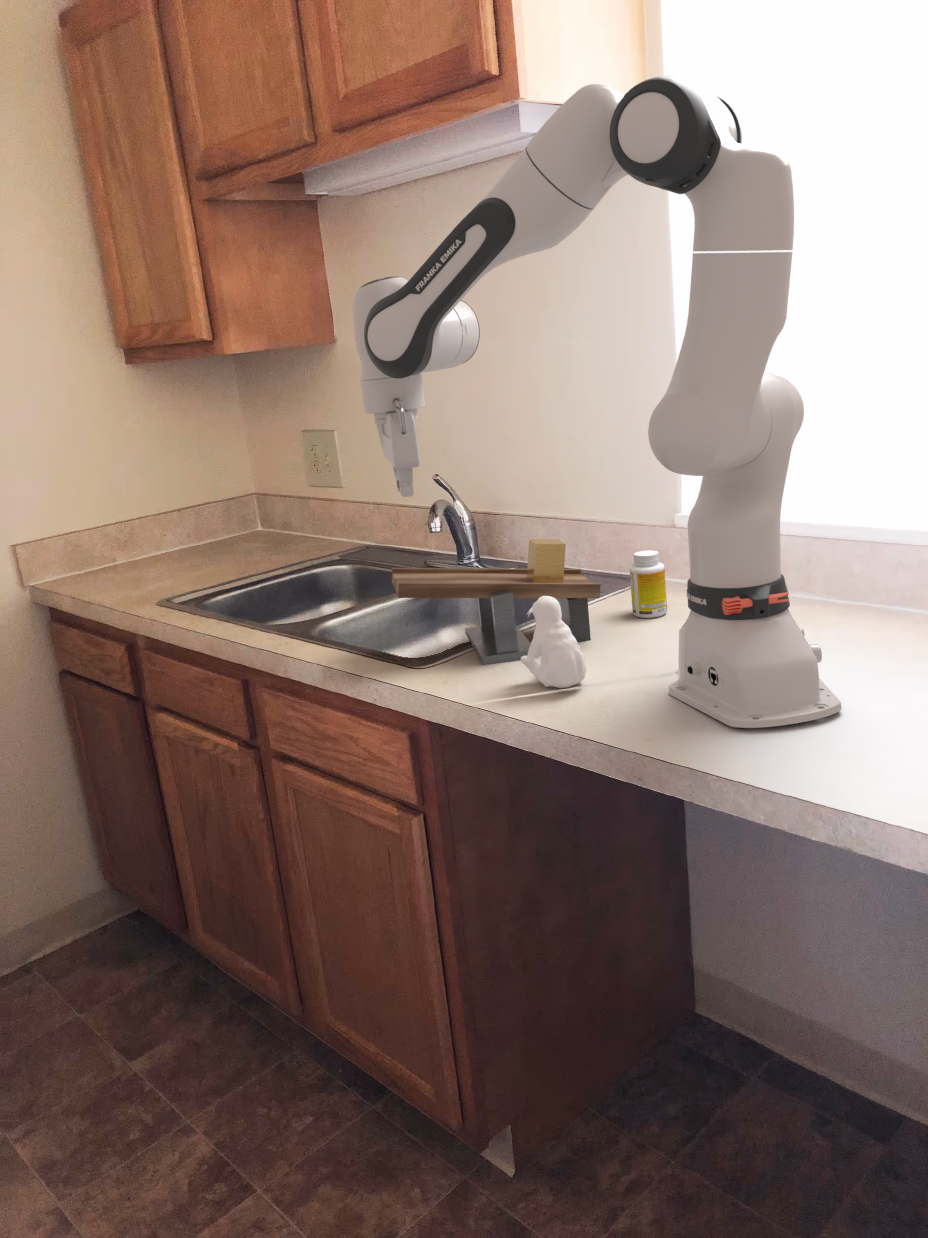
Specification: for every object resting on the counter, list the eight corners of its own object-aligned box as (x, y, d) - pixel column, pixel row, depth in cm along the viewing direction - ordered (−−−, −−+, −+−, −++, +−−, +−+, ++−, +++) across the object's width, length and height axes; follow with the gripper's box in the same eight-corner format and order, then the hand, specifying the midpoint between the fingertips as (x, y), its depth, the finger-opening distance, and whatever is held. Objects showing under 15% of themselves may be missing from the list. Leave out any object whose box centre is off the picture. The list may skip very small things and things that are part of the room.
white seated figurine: (562, 696, 130) (554, 607, 127) (520, 683, 137) (511, 598, 134) (597, 683, 134) (590, 596, 131) (555, 671, 140) (547, 588, 137)
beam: (599, 604, 150) (600, 584, 149) (398, 604, 145) (398, 583, 144) (578, 587, 161) (579, 568, 160) (391, 586, 157) (392, 567, 156)
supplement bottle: (674, 613, 162) (671, 551, 159) (647, 621, 159) (643, 558, 157) (652, 607, 167) (648, 547, 164) (625, 615, 164) (621, 554, 162)
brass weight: (563, 583, 152) (565, 544, 150) (533, 583, 151) (535, 543, 150) (555, 577, 156) (558, 539, 155) (527, 577, 155) (529, 538, 154)
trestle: (598, 647, 149) (593, 582, 146) (483, 665, 147) (475, 599, 144) (570, 620, 165) (565, 560, 162) (465, 635, 163) (458, 575, 160)
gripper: (423, 397, 134) (435, 500, 138) (408, 393, 154) (419, 483, 157) (376, 402, 133) (389, 505, 137) (367, 398, 153) (379, 488, 157)
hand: (405, 493), depth 147 cm, fingers open, 4 cm apart
